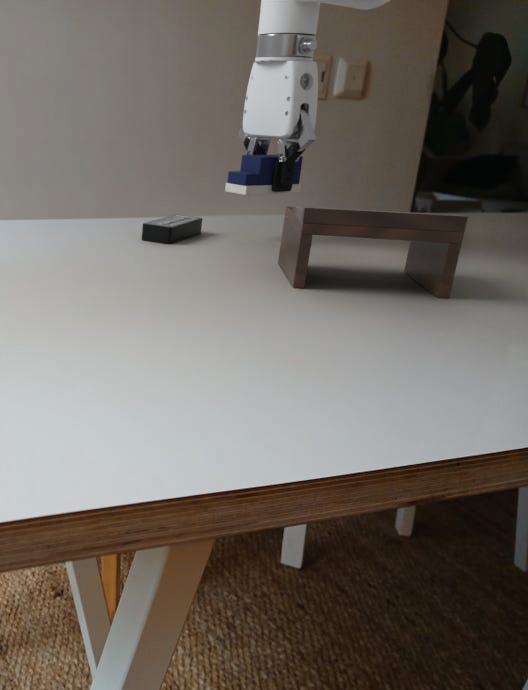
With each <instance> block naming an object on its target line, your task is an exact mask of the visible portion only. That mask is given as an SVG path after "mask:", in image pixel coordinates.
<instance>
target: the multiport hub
mask: <svg viewBox="0 0 528 690" xmlns="http://www.w3.org/2000/svg"><path fill="white" fill-rule="evenodd" d="M202 225H203V217H201V216H193V215H184V214H172V215H168V216H165V217H161V218H156V219H153V220H150V221H149V220H148V221H146V222H142V229H141V240H142V241H146V242H153V243H160V244H166V245H167V244H168V245H171V244H174V243H177V242H180V241H183V240H186V239H189V238H193V237H195V236H198V235H201V233H202Z"/></svg>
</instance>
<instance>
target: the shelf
mask: <svg viewBox="0 0 528 690" xmlns="http://www.w3.org/2000/svg"><path fill="white" fill-rule="evenodd" d="M284 211H285V212H284V217H283V218H284V219H283V224H282V232H281V239H280V246H279V253H278V259H277V265H278V266H279V268H280V269H281V270H282V272H283V274H284V275H285V278H286V279H287V280H288V282H289V283H290V285H291V287H292V288H293V289H305V286H306V280H307V274H308V267H309V261H310V255H311V248H312V243H313V242H312V241H313V236H322V237H323V236H326V237H342V238H344V237H345V238H355V239H358V238H359V239H372V240H373V239H374V240H388V241H389V240H390V241H391V240H392V241H405V242H406V241H408V242H409V246H408V251H407V255H406V260H405V265H404V270H403V272H404V273H405V274H406V275H408V276H409V277H410V278H411V279H413V280H414V281H415V282H417V283H418V284H419V285H421V286H422V287H423V288H425V289H426V290H427V291H428V292H430V293H431V294H432V295H434V296H435V297H436V298H440V299H450V298H451V297H450V296H451V292H452V287H453V284H454V280H455V275H456V270H457V266H458V262H459V257H460V253H461V248H462V244H463V239H464V235H465V232H466V227H467V222H468V218H469V217H468V215H464V214H450V213H449V214H448V213H429V212H411V211H410V212H409V211H391V210H376V209H355V208H337V207H317V206H303V207H302V206H301V207H300V206H285V210H284Z"/></svg>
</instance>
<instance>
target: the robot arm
mask: <svg viewBox="0 0 528 690" xmlns="http://www.w3.org/2000/svg"><path fill="white" fill-rule="evenodd" d="M389 2H391V0H260V10H259V18H258V28H257V37H256V48H255V58H254V62H253V63H252V67H251V70H250V74H249V79H248V83H247V87H246V88H247V89H246V94H245V100H244V107H243V115H242V125H241V126H240V128H239V130H238V132H237V136H238V138H239V139H240V141H241V142H242V143H243V146H244V149H245V151H246V154H245V155H268V152H269V148H270V144H271V141H272V139H275V140H277V155H278V160H279V162H275V164H274V171H273V179H272V191H274V192H284V191H291V189H292V182H293V174H294V166H295V162H298V161H299V157H300V156H301V155H302V154H304V152H305V151H306V149H307V148H308V147H310V146H311V145H312V144H313V143H315V142H316V140H317V136H316V134H315V130H316V125H317V124H316V123H317V112H318V97H319V71H318V70H319V69H318V62H317V61H314V55H315V51H316V50H317V49H318V45H319V44H318V41H317V40H316V39H317V37H316V36H317V32H318V31H317V30H318V24H319V16H320V8H321V4H327V5H328V4H329V5H333V6H338V7H346V8H350V9H356V10H360V11H361V10H362V11H366V10H368V11H369V10H373V9H377V8H379V7H381V6H383V5H385V4H387V3H389ZM288 144H289V146H288Z"/></svg>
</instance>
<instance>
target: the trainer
mask: <svg viewBox="0 0 528 690" xmlns="http://www.w3.org/2000/svg"><path fill="white" fill-rule="evenodd" d="M303 158H304V157H303V156H301V155H300V157H299V161H298V162H295V166H294V174H293V182H292V189H291V191H284V192H274V191H272V179H273V171H274V164H275V162H279V160H278V154H267V155H246V154H242V155H241V160H240V161H241V162H240V170H237V171H236V170H234V171H233V170H231V171H228V173H227V182H226V183H225V189H224V192H225V193H226V192H227V193H233V194H237V195H241V196H242V195H243V196H257V195H278V194H279V195H281V194H300V193H301V189H302V184H301V183H300V180H301V173H302V172H301V171H302V164H303Z"/></svg>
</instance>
